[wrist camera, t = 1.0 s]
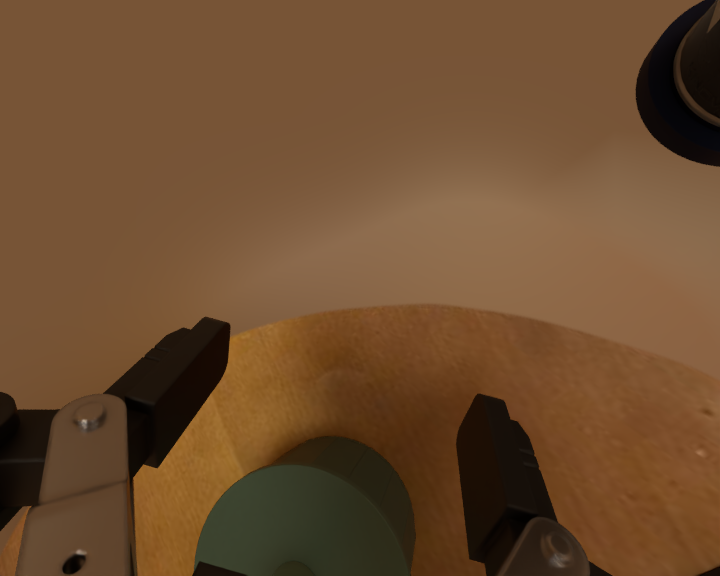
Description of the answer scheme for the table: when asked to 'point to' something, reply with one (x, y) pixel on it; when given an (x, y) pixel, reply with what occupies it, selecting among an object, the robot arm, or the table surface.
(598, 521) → the table surface
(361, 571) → the tin lid
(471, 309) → the table surface
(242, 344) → the table surface
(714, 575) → the trivet
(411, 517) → the tin
